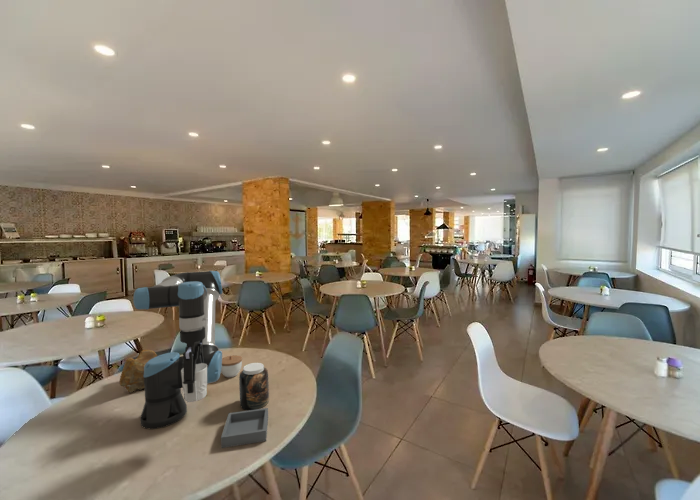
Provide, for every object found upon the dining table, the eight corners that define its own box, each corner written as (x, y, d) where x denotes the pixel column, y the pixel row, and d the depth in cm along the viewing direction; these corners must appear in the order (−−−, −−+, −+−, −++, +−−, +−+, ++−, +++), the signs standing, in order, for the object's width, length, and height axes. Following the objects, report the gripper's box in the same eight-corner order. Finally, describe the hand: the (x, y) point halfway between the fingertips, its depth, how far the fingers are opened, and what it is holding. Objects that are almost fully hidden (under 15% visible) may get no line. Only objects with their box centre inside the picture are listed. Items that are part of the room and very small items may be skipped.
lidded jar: (247, 372, 153) (246, 354, 152) (228, 381, 144) (227, 362, 143) (233, 368, 158) (232, 350, 158) (214, 376, 149) (214, 357, 149)
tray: (221, 448, 98) (221, 437, 98) (229, 422, 111) (228, 413, 111) (266, 440, 101) (265, 430, 101) (268, 416, 114) (268, 407, 114)
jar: (233, 407, 121) (231, 370, 121) (252, 393, 132) (250, 359, 132) (257, 412, 117) (256, 374, 117) (275, 397, 128) (273, 362, 128)
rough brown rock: (155, 397, 132) (157, 363, 132) (112, 398, 129) (114, 363, 129) (175, 375, 155) (176, 346, 155) (139, 376, 152) (140, 346, 152)
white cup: (197, 404, 98) (196, 374, 97) (176, 402, 99) (175, 372, 99) (213, 391, 105) (212, 363, 105) (193, 389, 107) (192, 362, 106)
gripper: (196, 337, 92) (199, 410, 93) (211, 319, 112) (214, 379, 113) (168, 339, 90) (172, 413, 91) (189, 320, 110) (192, 382, 111)
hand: (195, 394), depth 102 cm, fingers closed on white cup, 7 cm apart
